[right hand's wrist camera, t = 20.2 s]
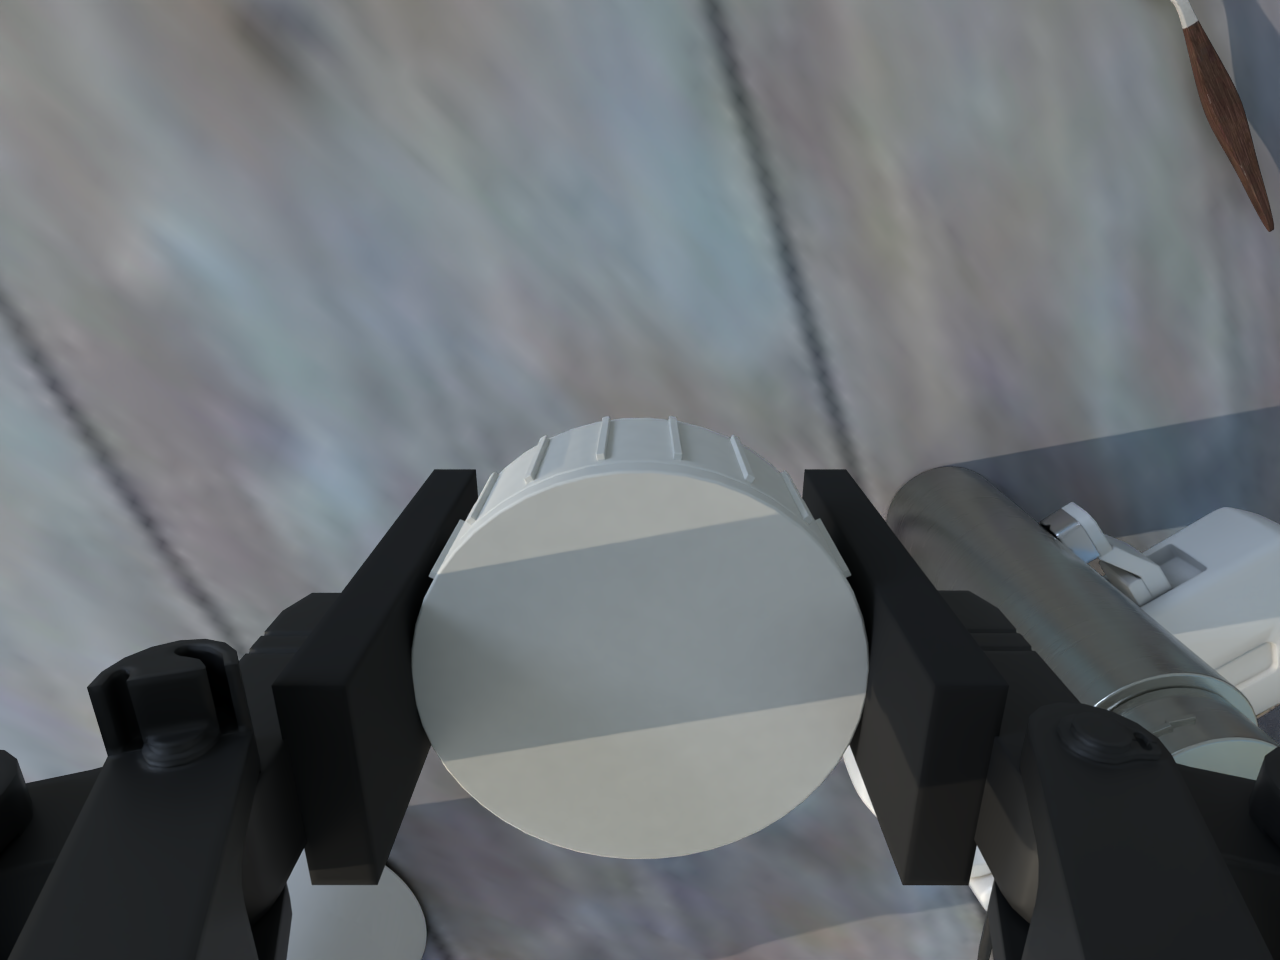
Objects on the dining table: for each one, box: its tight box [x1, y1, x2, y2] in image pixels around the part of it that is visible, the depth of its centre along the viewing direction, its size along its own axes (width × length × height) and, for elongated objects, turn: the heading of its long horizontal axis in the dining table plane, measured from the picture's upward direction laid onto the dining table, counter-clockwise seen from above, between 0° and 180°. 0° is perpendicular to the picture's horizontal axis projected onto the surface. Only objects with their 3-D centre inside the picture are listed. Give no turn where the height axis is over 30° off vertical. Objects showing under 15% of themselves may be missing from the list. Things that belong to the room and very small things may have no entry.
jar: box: [886, 467, 1280, 780], centre depth 28 cm, size 5×5×19 cm
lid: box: [411, 416, 869, 859], centre depth 11 cm, size 6×6×2 cm
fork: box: [1171, 0, 1274, 232], centre depth 29 cm, size 3×16×2 cm, turn 35°
